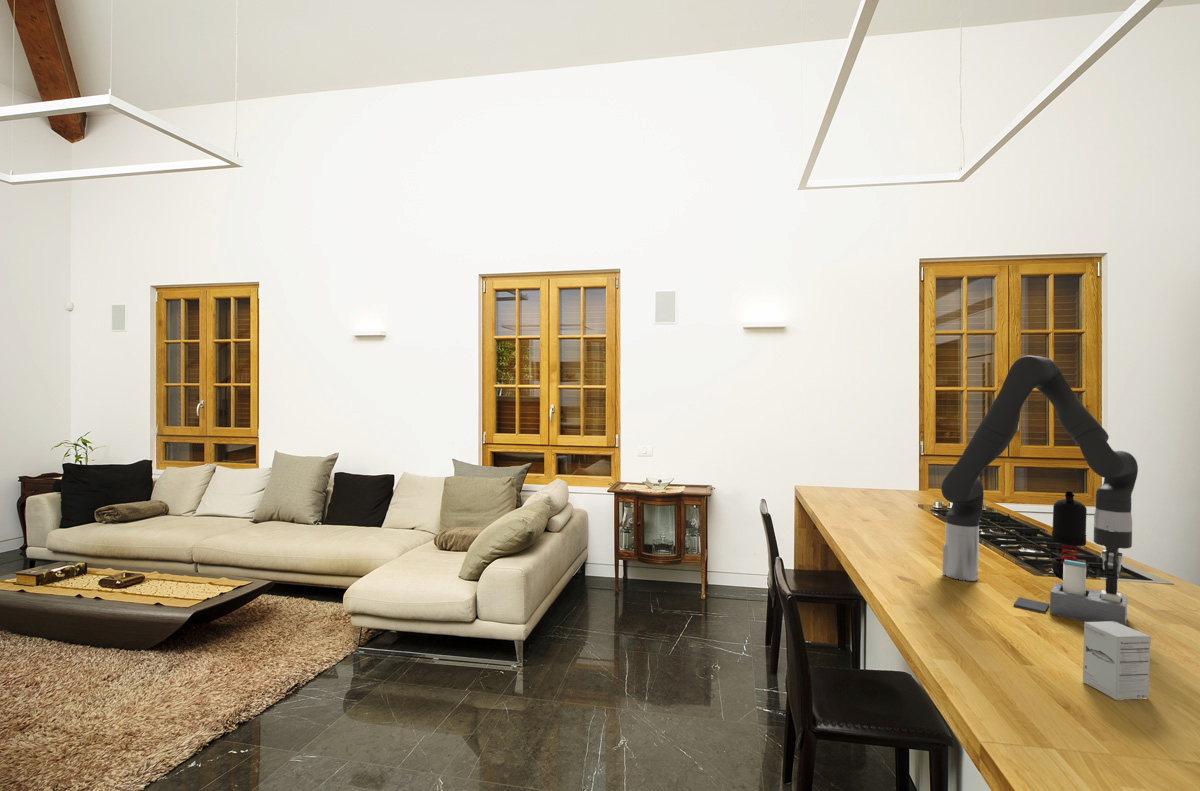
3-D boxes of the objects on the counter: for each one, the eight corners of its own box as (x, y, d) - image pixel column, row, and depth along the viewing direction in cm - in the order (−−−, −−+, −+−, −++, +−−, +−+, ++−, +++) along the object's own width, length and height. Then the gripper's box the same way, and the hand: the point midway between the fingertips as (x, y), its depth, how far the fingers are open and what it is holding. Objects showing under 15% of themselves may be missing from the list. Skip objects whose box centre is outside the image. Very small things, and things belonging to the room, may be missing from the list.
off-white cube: (1100, 612, 152) (1100, 593, 152) (1101, 608, 155) (1102, 589, 155) (1119, 616, 149) (1120, 596, 149) (1120, 612, 152) (1121, 593, 152)
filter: (1087, 594, 173) (1090, 493, 173) (1049, 586, 179) (1051, 489, 179) (1089, 583, 183) (1091, 488, 183) (1053, 576, 189) (1055, 484, 189)
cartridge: (1061, 613, 157) (1062, 561, 157) (1063, 608, 161) (1064, 558, 161) (1084, 618, 154) (1085, 565, 154) (1085, 613, 157) (1087, 561, 157)
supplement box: (1080, 682, 119) (1082, 621, 119) (1114, 681, 120) (1115, 620, 120) (1115, 701, 112) (1117, 636, 112) (1150, 700, 113) (1152, 635, 112)
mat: (1013, 606, 162) (1013, 604, 162) (1018, 599, 168) (1018, 597, 168) (1045, 613, 157) (1045, 611, 157) (1049, 605, 163) (1049, 603, 163)
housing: (1049, 613, 157) (1050, 591, 156) (1055, 603, 164) (1055, 582, 164) (1124, 630, 146) (1125, 606, 146) (1126, 618, 154) (1127, 596, 154)
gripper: (1096, 521, 159) (1094, 584, 159) (1091, 528, 150) (1090, 595, 150) (1133, 525, 154) (1131, 590, 154) (1131, 534, 145) (1129, 603, 145)
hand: (1111, 593), depth 152 cm, fingers closed
